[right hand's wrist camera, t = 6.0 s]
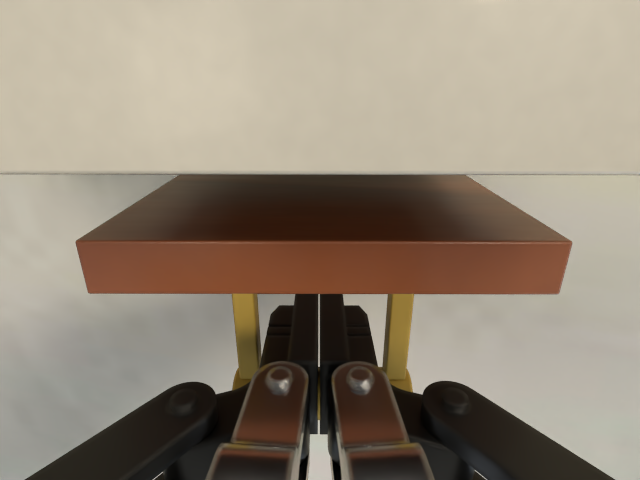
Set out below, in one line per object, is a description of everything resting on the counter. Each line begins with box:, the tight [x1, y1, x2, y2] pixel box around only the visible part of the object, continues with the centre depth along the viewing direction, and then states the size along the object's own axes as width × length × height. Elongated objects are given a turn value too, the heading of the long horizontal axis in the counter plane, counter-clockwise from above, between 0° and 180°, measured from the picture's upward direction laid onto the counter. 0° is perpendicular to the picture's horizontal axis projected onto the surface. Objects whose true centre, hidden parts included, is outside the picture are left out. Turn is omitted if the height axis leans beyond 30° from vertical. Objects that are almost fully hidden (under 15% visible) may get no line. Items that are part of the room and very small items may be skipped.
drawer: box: [76, 175, 572, 420], centre depth 10 cm, size 23×10×9 cm, turn 0°
